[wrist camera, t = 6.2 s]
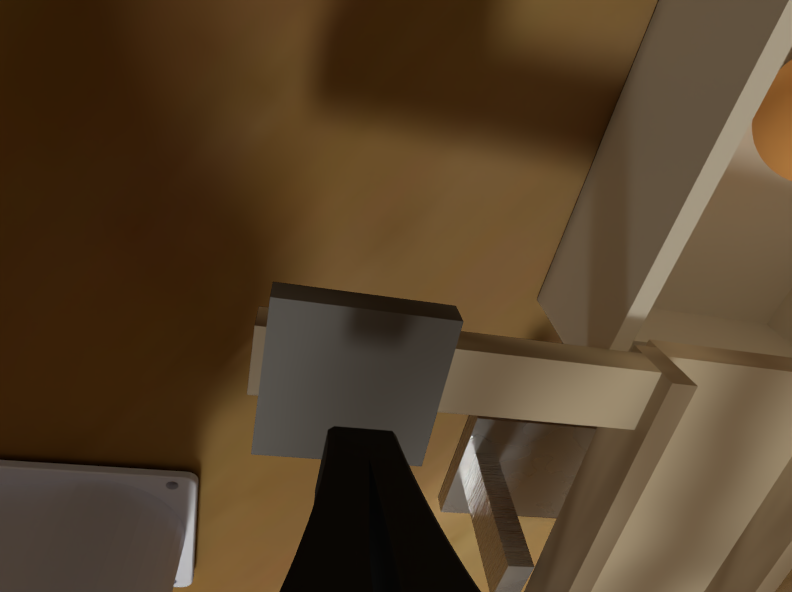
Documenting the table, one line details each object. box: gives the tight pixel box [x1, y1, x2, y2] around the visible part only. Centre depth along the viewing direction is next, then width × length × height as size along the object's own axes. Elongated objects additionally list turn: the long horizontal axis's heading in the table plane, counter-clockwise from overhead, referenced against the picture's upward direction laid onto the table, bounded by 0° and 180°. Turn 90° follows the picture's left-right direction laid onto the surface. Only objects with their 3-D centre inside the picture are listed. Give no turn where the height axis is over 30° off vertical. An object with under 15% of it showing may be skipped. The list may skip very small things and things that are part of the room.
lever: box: [247, 282, 792, 592], centre depth 19 cm, size 19×21×3 cm
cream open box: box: [537, 0, 792, 358], centre depth 17 cm, size 10×11×5 cm
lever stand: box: [438, 415, 597, 592], centre depth 23 cm, size 12×6×6 cm, turn 77°
